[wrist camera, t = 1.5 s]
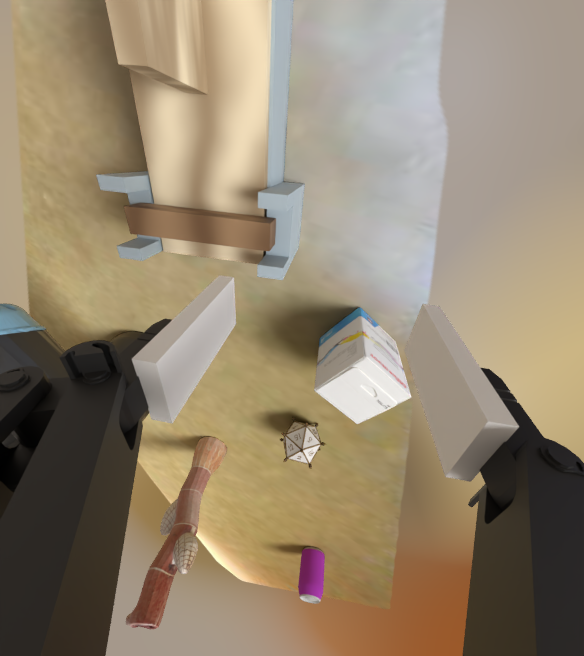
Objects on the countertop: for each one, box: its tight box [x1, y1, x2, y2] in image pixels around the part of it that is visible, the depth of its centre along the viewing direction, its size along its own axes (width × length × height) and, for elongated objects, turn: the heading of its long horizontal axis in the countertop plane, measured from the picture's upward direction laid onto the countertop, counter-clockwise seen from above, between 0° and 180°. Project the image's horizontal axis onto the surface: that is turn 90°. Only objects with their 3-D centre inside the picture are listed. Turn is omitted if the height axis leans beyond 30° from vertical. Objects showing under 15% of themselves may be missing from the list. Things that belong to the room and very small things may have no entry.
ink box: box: [314, 307, 411, 424], centre depth 37 cm, size 8×8×12 cm
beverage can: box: [298, 547, 325, 603], centre depth 85 cm, size 8×8×12 cm
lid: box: [105, 0, 272, 264], centre depth 20 cm, size 11×25×10 cm, turn 176°
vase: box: [126, 437, 227, 629], centre depth 52 cm, size 10×7×30 cm
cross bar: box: [124, 202, 276, 251], centre depth 26 cm, size 14×2×2 cm, turn 86°
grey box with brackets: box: [96, 0, 305, 280], centre depth 24 cm, size 17×26×12 cm, turn 176°
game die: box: [280, 417, 325, 469], centre depth 51 cm, size 9×8×10 cm
